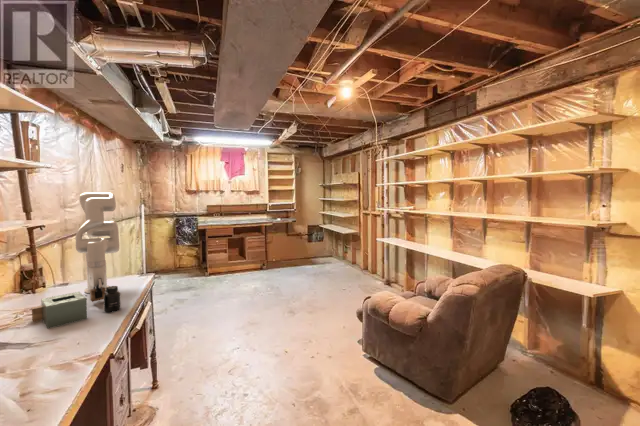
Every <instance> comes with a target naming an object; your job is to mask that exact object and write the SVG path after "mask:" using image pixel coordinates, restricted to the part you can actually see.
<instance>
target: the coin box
mask: <svg viewBox="0 0 640 426" xmlns="http://www.w3.org/2000/svg"><path fill="white" fill-rule="evenodd" d="M40 302H41V304H40V306H42V320H41V321H42V322H43V324H44V326H45V327H46V329H53V328H56V327H60V326H65V325H69V324H72V323H75V322H80V321H84V320H87V319H88V309H87V308H88V307H87V305H88V304H87V297H86V296H85V295H84V294H82V293H81V292H80V291H75V292H70V293H65V294H61V295H59V294H58V295H55V296H50V297H45V298H41V300H40Z"/></svg>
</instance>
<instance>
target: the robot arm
mask: <svg viewBox="0 0 640 426" xmlns="http://www.w3.org/2000/svg"><path fill="white" fill-rule="evenodd" d="M116 202H117V201H116V197H115V195H114V193H112V192H83V193H81V194H80V195H79V204H80V206H81V209H82V210H83V212H84V214H85V215H84V216H85V222H84V223H83V224H82V225H81V226H80V227H79V228H78V229H77V231H76V233H75V249H76V250H75V251H77V253H79V254H85V260H86V261H85V262H86V279H87V280H86V282H87V284H86V285H87V286H86V287H87V288H85V289H84V291H83V292H84V293H85V294H90V289H95V290H96V291H95V299H97V298H102V297H103V295H102V287H104V288H105V292H106V288H107V287H110V286H111V285H108V281H107V280H108V279H107V261H106V254H114V253H118V252H119V250H120V234H119V226H118V223H117V222H116V221H113V220H105V217H104V216H105V215H104V213H105V212H114V211H115V210H116V209H117V208H116V207H117V203H116ZM85 233H86V235H87V236H88V237H89V238H83V235H84V234H85ZM104 237H105V238H104Z"/></svg>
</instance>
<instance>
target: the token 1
mask: <svg viewBox="0 0 640 426" xmlns="http://www.w3.org/2000/svg"><path fill="white" fill-rule="evenodd" d="M31 319H32V322H37V321H43V320H42V306H41V305H37V306H32V307H31Z"/></svg>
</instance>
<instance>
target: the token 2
mask: <svg viewBox="0 0 640 426" xmlns="http://www.w3.org/2000/svg"><path fill="white" fill-rule="evenodd" d="M95 291H96V290H95V289H90V293H89V294H90V295H89V298H90V302H91V303H93V302H97V301H98V302H99V301H102V300H103V301H104V294H105V293H106V291H105V288H104V287H102V295H103V297H102V298H97V299H95Z"/></svg>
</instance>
